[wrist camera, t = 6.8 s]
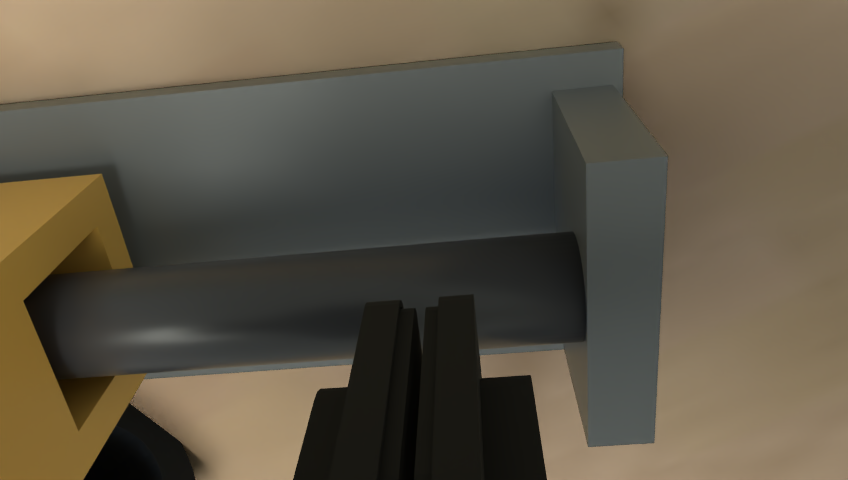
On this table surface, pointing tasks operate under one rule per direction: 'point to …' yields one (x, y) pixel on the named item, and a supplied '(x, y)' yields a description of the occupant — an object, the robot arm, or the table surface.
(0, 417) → the yellow sliding block
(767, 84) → the table surface
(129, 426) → the pipe connector
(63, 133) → the grey slider rail base
